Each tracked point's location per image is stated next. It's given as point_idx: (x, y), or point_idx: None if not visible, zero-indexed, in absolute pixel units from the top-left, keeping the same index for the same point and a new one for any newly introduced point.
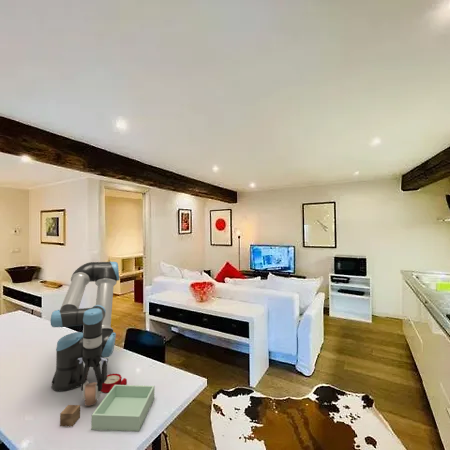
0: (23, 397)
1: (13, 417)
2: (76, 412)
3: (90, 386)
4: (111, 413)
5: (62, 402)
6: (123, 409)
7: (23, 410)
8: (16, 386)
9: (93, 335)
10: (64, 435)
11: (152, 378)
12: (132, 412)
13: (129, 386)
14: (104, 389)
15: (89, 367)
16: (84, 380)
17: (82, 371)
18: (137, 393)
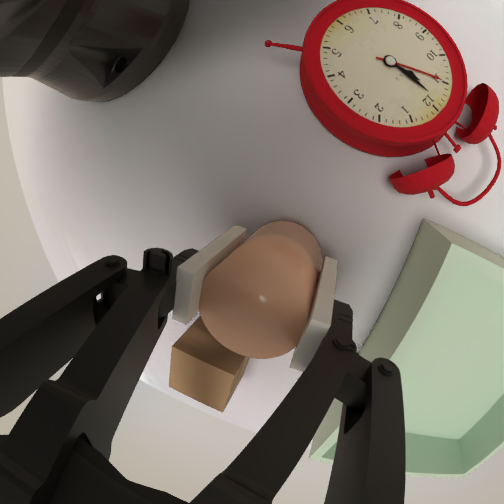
0: (32, 140)
1: (51, 244)
2: (233, 385)
3: (243, 323)
4: (400, 370)
5: (135, 191)
6: (453, 359)
7: (53, 214)
8: (15, 87)
9: None
10: (231, 399)
11: None
12: (476, 381)
13: None
14: (349, 136)
15: (101, 402)
16: (160, 328)
17: (69, 308)
18: None
